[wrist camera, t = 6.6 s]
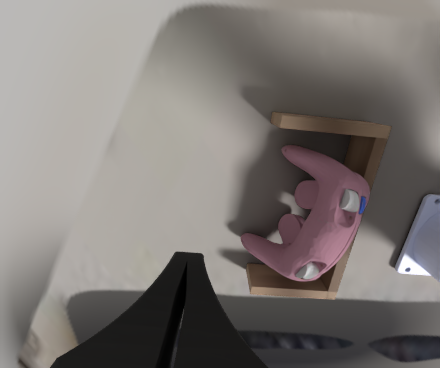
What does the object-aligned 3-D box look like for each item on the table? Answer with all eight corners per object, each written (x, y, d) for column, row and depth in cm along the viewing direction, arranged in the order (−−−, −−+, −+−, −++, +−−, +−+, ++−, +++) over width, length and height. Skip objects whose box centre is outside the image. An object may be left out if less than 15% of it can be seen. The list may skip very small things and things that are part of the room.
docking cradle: (365, 121, 19) (391, 126, 16) (320, 275, 24) (334, 299, 21) (272, 111, 19) (282, 115, 16) (246, 270, 24) (250, 294, 21)
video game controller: (270, 241, 25) (324, 299, 19) (233, 241, 22) (283, 307, 17) (317, 149, 21) (398, 186, 16) (281, 136, 19) (362, 175, 14)
